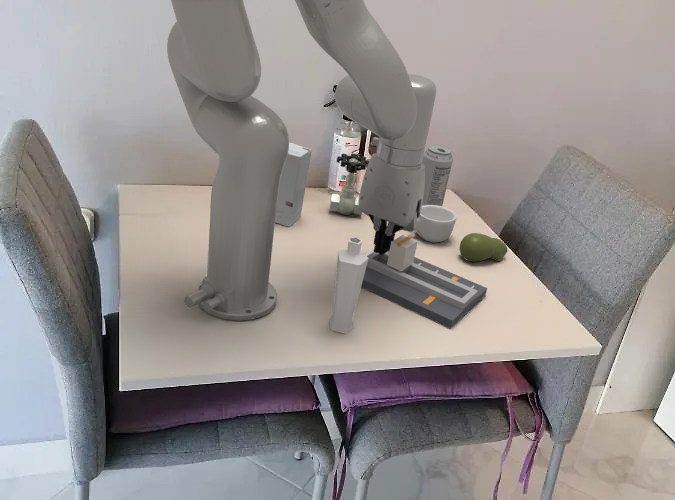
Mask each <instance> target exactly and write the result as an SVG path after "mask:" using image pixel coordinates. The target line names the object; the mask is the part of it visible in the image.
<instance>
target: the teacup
mask: <svg viewBox="0 0 675 500" xmlns="http://www.w3.org/2000/svg"><path fill="white" fill-rule="evenodd" d="M456 221H457V213H456V212H454V211H453V210H452V209H450V208H448V207H445V206H443V205H442V206H437V205H423V206H422V208H421V213H420V216H419V218H418V219H417V229H415V230H414V231H413V232H417V234H418V236H419V237H420V238H421V239H423V240H424V241H426V242H430V243H440V242H441V243H442V242H444V241H446V240H447V239H448V238H449V237H450V236H451V235H452V234H453V233H452V232H453V231H454V227H455V224H456Z"/></svg>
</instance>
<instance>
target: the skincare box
mask: <svg viewBox="0 0 675 500" xmlns="http://www.w3.org/2000/svg"><path fill="white" fill-rule="evenodd" d="M312 152H313V151H312V149H311V148H308V147H305V146H301V145H299V144H296V143H293V142H290V141H289V151H288V155H287V159H286V162H285V165H284V168H283V171H282V175H281V179H280V183H279V189H278V196H277V205H276V216H275V224H276V223H277V224H279V225H282V226H285V227H291V226H292V225H293V224H295V223H296V222H297V221H298V220H299V219H300V218H301V217H302V211H303V204H304V198H305V192H306V187H307V182H308V181H307V180H308V174H309V169H310V163H311V159H312V158H311V156H312ZM295 221H296V222H295Z"/></svg>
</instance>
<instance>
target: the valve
mask: <svg viewBox="0 0 675 500" xmlns="http://www.w3.org/2000/svg"><path fill="white" fill-rule="evenodd" d="M369 161H370V159H369V160H367V157H366V156H365V155H362V156H357V154H356V153H351V154H350V155H348V154H347V153H341V154H340V155H339V156H336V163H338V164H339V165H340V167H341V168H345V169H346V171H347V172H348V174H346V176H345V182H346V183H345V184H344V185H343V186H341V191H340V192H341V193H342V194H336V193H332V194H331V197H330V202H329V203H330V204H329V211H330V212H336V213H340V214H342V215H345V216H349V215H352V214H353V215H357V216H358V215H359V216H362V215H363V212H361V210H360V207H359V205H358V200H359V196H356V197H355V195H356V194H357V188H356V187H355V185H354V184H355V183H356V175H355V174H356V173H358V171H362V170H363V171H364V170H365V171H366V169H367V166H368V163H369Z"/></svg>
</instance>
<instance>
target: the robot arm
mask: <svg viewBox="0 0 675 500" xmlns="http://www.w3.org/2000/svg"><path fill="white" fill-rule="evenodd" d="M170 2H171V5H172V8H173V12H174V15H175V19H176V22H175V23H174V24H173V25H172V27H171V29H170V32H169V34H168V38H167V43H166V48H167V49H166V50H167V51H166V52H167V59H168V62H169V66H170V70H171V72H172V75H173V77H174V80H175V83H176V85H177V88H178V91H179V94H180V97H181V100H182V102H183V105H184V107H185V110H186V112H187V115H188V117H189V120H190V121H191V124H192V127H193V128H194V130H195V132H196V133H197V135H198V136H199V137H200V138H201V139H202V140H203V142H205V143H206V144H207V145H208V146H209V147H210V148H211V149H212V151H214V152H215V153H216V155H218V159H219V162H218V163H219V164H218V168H217V171H216V174H215V176H214V179H213V183H212V186H211V193H210V214H209V215H210V216H209V229H208V231H209V233H208V251H207V265H206V266H207V271H206V276H204V277H202V280H201V281H200V282H199V283H198V284H197V287H196V288H195V291H194V292H192V293H190V294H188V295H186V296H185V297H184V298H183V303H184V305H185V306H186V307H187V308H188V309H194V308H195V307H197V306H199V307H200V308H201V309H202V310H203V311H205V312H206V313H208V314H210V315H212V316H213V317H215V318H219V319H225V320H230V321H249V320H255V319H258V318H261V317H264V316H265V315H268V313H271V311H273V309H274V308H275V307H276V305H277V301H278V293H277V289H276V288H275V286H274V285H273V284H271V283H270V274H271V273H270V271H271V262H272V253H273V243H274V234H275V226H276V222H275V216H276V205H277V196H278V189H279V183H280V179H281V175H282V171H283V168H284V165H285V162H286V159H287V155H288V151H289V142H290V137H289V133H288V129H287V126H286V125H285V123H284V122H283V120H282V119H281V117H280V116H279V115H278V114H277V113H276V112H275V111H274V110H273V109H271V108H270V107H269V106H268V105H267V104H265V103H264V102H262V101H260V100H259V99H258V98H256V97H254V96H252V95H253V94H254V93H255V91H256V90H257V88H258V86H259V84H260V82H261V81H260V80H261V77H262V76H261V75H262V66H261V65H262V63H261V58H260V53H259V51H258V47H257V44H256V42H255V38H254V34H253V31H252V28H251V24H250V20H249V17H248V14H247V10H246V7H245V2H244V0H170ZM294 2H295V5H296V6H297V8H298V11H299V13H300V16H301V18H302V20H303V23H304V24H305V27H306V29H307V31H308V33H309V35H310V36H311V37H312V38H313V40H314V41H315V42H316V43H317V45H318V46H319V47H320V48H321V50H323V51H324V52H325V53H326V54H327V55H328V56H329V57H331V58H332V59H333V60H334V61H335V62H336V63H337V65H339V66H340V67H341V68H342V69H343V70H344V71H345V72H346V74H347V75H346V76H344V77H343V78H342V79H340V81H339V82H338V83H337V86H336V89H335V92H334V101H335V104H336V106H337V108H338V110H339V111H340V113H342V114H343V115H344V116H345V117H347V118H348V119H350V120H351V121H353V122H354V123H356V124H358V125H359V126H361V127H362V128H364V129H366V130H368V131H369V132H371V133H373V134H374V135H375V136H374V137H373V138H372V139H371V144H372V145H373V146H375V147H376V150H375V151H376V152H375V153H372V154H371V156H370V158H369V163H368V166H367V165H366V169H365V173H364V174H363V179H362V182H361V188H360V189H359V190H360V191H359V196H358V197H359V200H358V205H359V207H360V210H361V212H362V214H365V216H367V217H369V219H370V220H371V223H372V224H373V230H374V231H375V232H374V237H373V245H374V247H373V252H375V253H379V254H380V255H383V254H385V253H386V252H388V251H389V250H390V246H391V242H392V241H393V240H395V237H396V233H397V232H400V231H406V232H415V231H414V230H415V229H417V219H418V218H419V216H420V213H421V208H422V202H423V195H424V186H425V166H424V165H423V164H422V160H423V155H424V153H425V150H426V145H427V141H428V135H429V129H430V125H431V119H432V115H433V110H434V105H435V101H436V96H437V95H436V94H437V86H436V84H435V82H434V81H432V80H431V79H429V78H427V77H425V76H422V75H417V74H414V73H413V74H411V73H408V70H407V68H406V66H405V63H404V62H403V60H402V58H401V56H400V55H399V53H398V51H397V50H396V48H395V47H394V45H393V43H392V42H391V41H390V39H389V38H388V37H387V35H386V33H384V31H383V29H382V28H381V26H380V24H379V22H377V19H375V17H374V16H373V15H372V14H371V12H370V10H369V9H368V8H367V6H366V4H365V1H364V0H294ZM376 136H377V137H376Z"/></svg>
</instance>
